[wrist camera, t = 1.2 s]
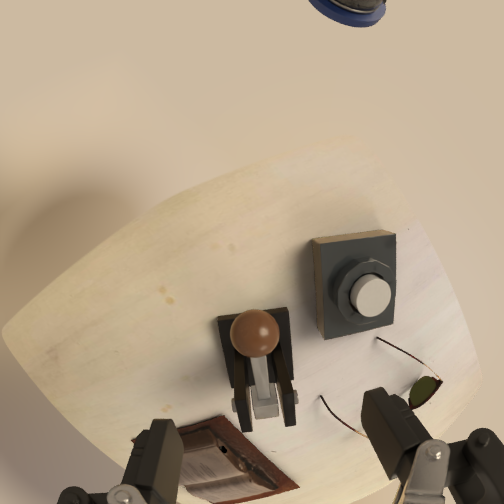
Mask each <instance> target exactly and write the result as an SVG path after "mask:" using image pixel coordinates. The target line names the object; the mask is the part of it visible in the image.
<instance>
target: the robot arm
mask: <svg viewBox="0 0 504 504" xmlns="http://www.w3.org/2000/svg"><path fill="white" fill-rule="evenodd" d="M328 1H329V2H330V3H332V4H333V5H335V6H337V7H339V8H341V9H343V10H345V11H348V12H351V13H355V14H362V15H366V14H371V13H373V12H375V11H376V10H377V9H378V8H379V6H380V4H381V3H382V2H383V4H384V3H385V2H386V0H328ZM361 422H362V426H363V428H364V430H365V432H366V434H367V436H368V438H369V440H370V442H371V444H372V446H373V448H374V450H375V452H376V454H377V456H378V458H379V460H380V462H381V464H382V466H383V468H384V470H385V472H386V474H387V476H388V478H389V480H393V479H395V478H397V477H398V478H399V480H400V484H399V487H398V490H397V493H396V495H395V498H394V501H393V503H392V504H445V497H444V496H443V495H442V494H443V489H444V487H448V488H449V490H450V492H451V494H452V496H453V498H454V500H455V502H456V504H504V445H503V444H502V442H501V441H500V440H499V438H498V437H497V436H496V435H495V433H494V432H493V431H491V430H490V429H486V428H479V429H476V430H475V431H473V432H472V433H471V434H470V436H469V437H468V439H466V440H462V441H458V442H454V443H449V444H446V443H445V442H444V441H442V440H438V439H433V438H432V437H431V436H430V434H429V433H428V431H427V430H426V429H425V427H424V426H423V425H422V423H421V422H420V420H419V419H418V418H417V416H416V415H414V412H413V411H412V410H411V409H410V407H409V406H408V404H407V403H406V401H405V400H404V399H402V398H401V397H399V396H397V395H396V394H393V395H391V396H389V395H388V393H387V392H386V391H385V389H384V388H383V387H379V388H376V389H372V390H369V391H366V392H365V393H364V398H363V405H362V411H361ZM133 447H134V448H133V449H132V452H131V456H130V458H129V461H128V464H127V467H126V470H125V473H124V476H123V480H122V482H121V484H120V485H117V486H114V487H113V488H112V489H111V490H110V491H109V492H108V493H95V494H87V493H86V492H85V491H84V490H83V489H82V488H80V487H76V486H73V487H68V488H66V489H65V490H63V491H62V493H61V494H60V497H59V500H58V502H57V504H176V499H177V492H178V485H179V479H180V472H181V466H182V460H183V453H184V447H183V442H182V439H181V437H180V435H179V433H178V431H177V428H176V426H175V424H174V422H173V420H172V419H153V421H152V424H151V427H150V430H143V431H142V432H141V433H140V434H139V435H138V436H137V437H136V440H135V443H134V446H133Z"/></svg>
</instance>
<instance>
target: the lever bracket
mask: <svg viewBox="0 0 504 504" xmlns="http://www.w3.org/2000/svg"><path fill="white" fill-rule="evenodd" d="M262 311H265V312H267V313H268V314H270V315H271V316H272V317H273V318H274V319H275V320H276V322H277V324H278V327H279V332H280V334H279V341H278V343H277V345H276V347H275V348H274V350H273V351H271V352H270V353H269V354H267V355H266V359H267V368H268V377H269V383H276V385H277V390H278V394H279V399H280V404H281V409H282V414H283V418H284V423H285V427H288V426H294V425H296V416H295V404H298V394H297V391H296V390H293V387H292V384H291V380H294V374H293V360H292V346H291V334H290V322H289V311H288V309H287V307H283V308H276V309H269V310H262ZM240 314H241V313H240ZM240 314H232V315H224V316H218V320H217V322H218V327H219V332H220V337H221V342H222V347H223V352H224V357H225V361H226V366H227V371H228V375H229V380H230V384H231V388H234V398H232V400H231V402H232V410H233V412H237V414H238V419H239V423H240V427H241V431H242V433H244V432H252V431H253V428H252V416H251V403H250V390H249V386H254V385H255V380H254V375H253V370H252V364H251V359H250V357H247V356H244V355H242V354H241V353H239V352H238V351H237V350H236V349H235V347H234V346H233V344H232V341H231V337H230V330H231V326H232V324H233V322H234V320H235V319H236V318H237V317H238V316H239V315H240Z"/></svg>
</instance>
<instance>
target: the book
mask: <svg viewBox="0 0 504 504" xmlns="http://www.w3.org/2000/svg"><path fill="white" fill-rule="evenodd" d="M197 424H198V425H196V424H195V425H193V426H188V427H186V428H181V429H177V431H178V433H179V435H180V437H181V439H182V442H183V447H184V453H183V460H182V466H181V472H180V479H179V486H182V485H185V487H186V489H187V491H188V492H189V493H191V495H193V496H195V497H198V498H201V499H204V500H207V501H209V502H210V503H212V504H235V503H242V502H247V501H251V500H255V499H260V498H264V497H269V496H272V495H275V494H280V493H283V492H285V491H290V490H294V489H297V488H300V487H299V486H298V485H297V484H296V483H295V482H294V481H292V480H291V479H290V478H289V477H288V476H286V475H285V474H284V473H283V472H282V471H281V470H279V469H278V468H277V467H276V466H275V465H274V464H273V463H272V462H271V461H270V460H268V458H266V457H265V456H264V455H263V454H262V453H261V452H260V451H259V450H258V449H257V448H256V447H255V446H254V445H253V444H252V443H251V442H250V441H248V439H246V438H245V437H244V435H243V434H242V433H241V432H240V431H239V430H238V429H236V427H234V426H233V424H232V423H231V422H230V421H228V419H227V418H225V415H223V416H219V417H218V418H217V417H216V418H214V419H212V420H210V421H209V420H208V421H205V422H202V423H197ZM135 440H136V439H135ZM135 440H131V441H132V442H133V443H135ZM220 446H224V447H225V448H226V449H227V453H225V454H224V453H223V452H222V451H221V450H220V448H219V447H220Z"/></svg>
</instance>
